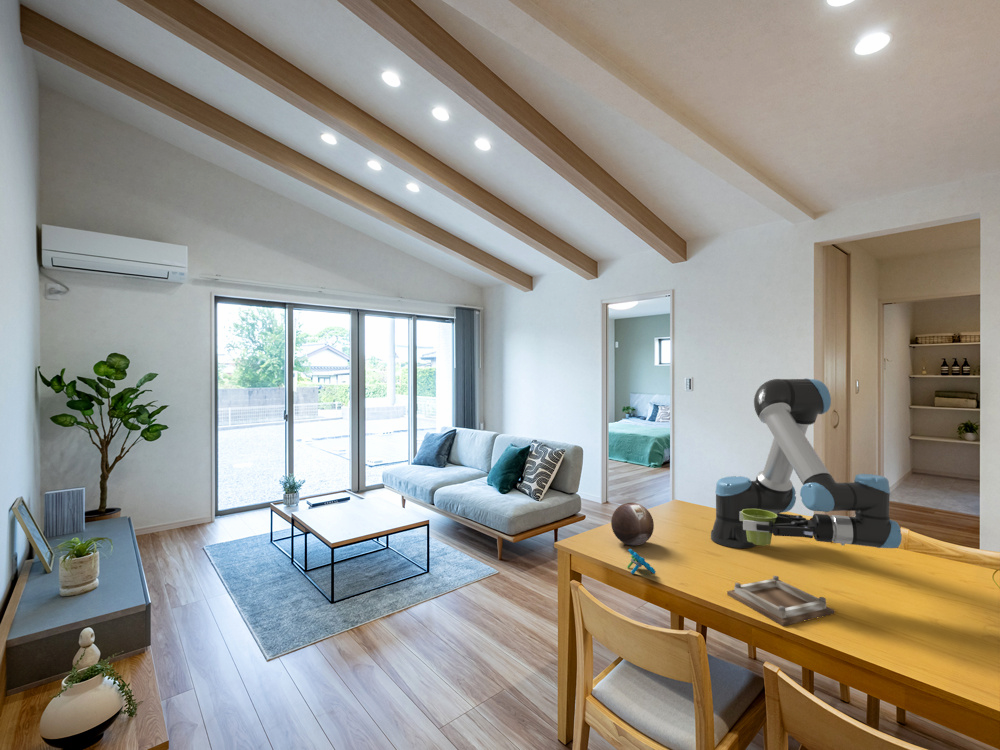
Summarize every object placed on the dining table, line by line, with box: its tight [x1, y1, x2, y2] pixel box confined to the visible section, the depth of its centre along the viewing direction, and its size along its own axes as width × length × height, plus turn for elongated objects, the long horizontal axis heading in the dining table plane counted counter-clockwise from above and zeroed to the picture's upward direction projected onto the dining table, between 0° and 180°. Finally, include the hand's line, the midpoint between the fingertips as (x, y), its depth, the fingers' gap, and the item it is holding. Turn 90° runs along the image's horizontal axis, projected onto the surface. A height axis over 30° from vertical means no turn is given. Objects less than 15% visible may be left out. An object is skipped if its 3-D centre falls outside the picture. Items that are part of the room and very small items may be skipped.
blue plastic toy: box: [626, 548, 657, 575], centre depth 154 cm, size 11×6×10 cm
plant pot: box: [741, 509, 777, 547], centre depth 144 cm, size 9×9×9 cm
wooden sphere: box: [610, 502, 655, 547], centre depth 178 cm, size 15×15×15 cm
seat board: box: [726, 575, 836, 627], centre depth 133 cm, size 18×18×4 cm
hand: (741, 520), depth 145 cm, fingers closed on plant pot, 8 cm apart
